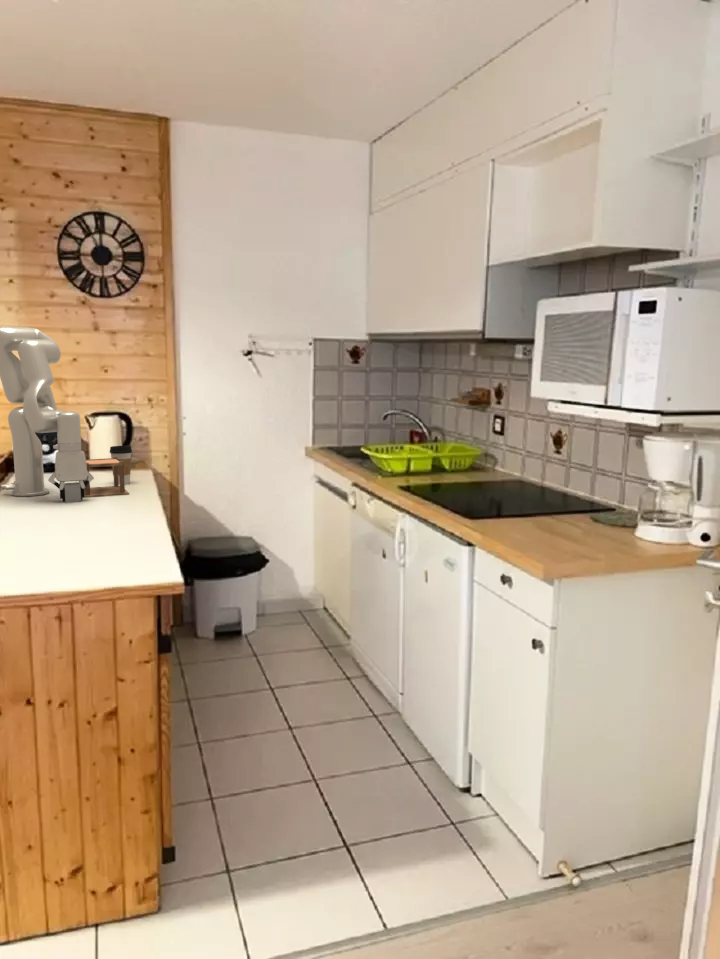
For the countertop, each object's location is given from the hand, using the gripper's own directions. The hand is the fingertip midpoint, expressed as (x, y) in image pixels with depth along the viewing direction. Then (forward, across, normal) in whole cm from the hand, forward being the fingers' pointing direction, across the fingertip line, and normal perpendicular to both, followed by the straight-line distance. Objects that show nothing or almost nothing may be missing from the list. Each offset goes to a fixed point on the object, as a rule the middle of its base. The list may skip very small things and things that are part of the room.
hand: (72, 499), depth 259 cm
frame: (0, +11, +13) cm, 17 cm away
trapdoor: (-8, +9, +13) cm, 18 cm away
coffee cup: (+1, +22, +30) cm, 37 cm away
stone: (+1, 0, 0) cm, 1 cm away
